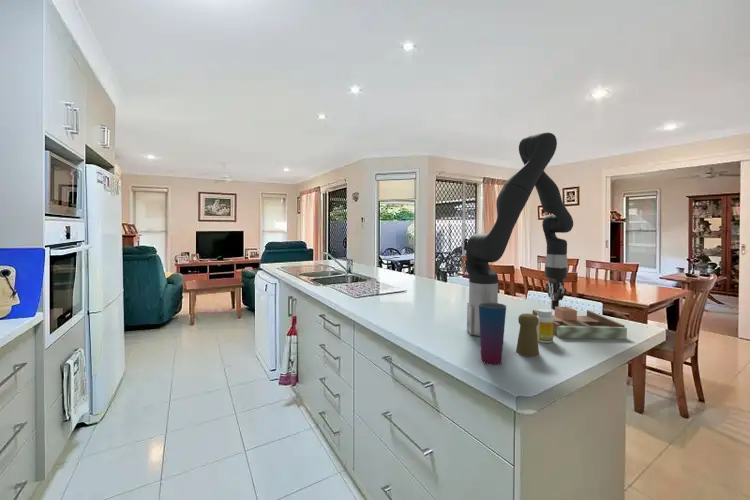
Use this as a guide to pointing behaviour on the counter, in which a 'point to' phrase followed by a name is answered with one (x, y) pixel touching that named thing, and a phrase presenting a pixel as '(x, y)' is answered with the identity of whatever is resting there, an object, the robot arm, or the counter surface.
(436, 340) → the counter surface
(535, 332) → the cork
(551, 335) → the supplement bottle
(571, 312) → the block
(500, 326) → the cup
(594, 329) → the square tray
